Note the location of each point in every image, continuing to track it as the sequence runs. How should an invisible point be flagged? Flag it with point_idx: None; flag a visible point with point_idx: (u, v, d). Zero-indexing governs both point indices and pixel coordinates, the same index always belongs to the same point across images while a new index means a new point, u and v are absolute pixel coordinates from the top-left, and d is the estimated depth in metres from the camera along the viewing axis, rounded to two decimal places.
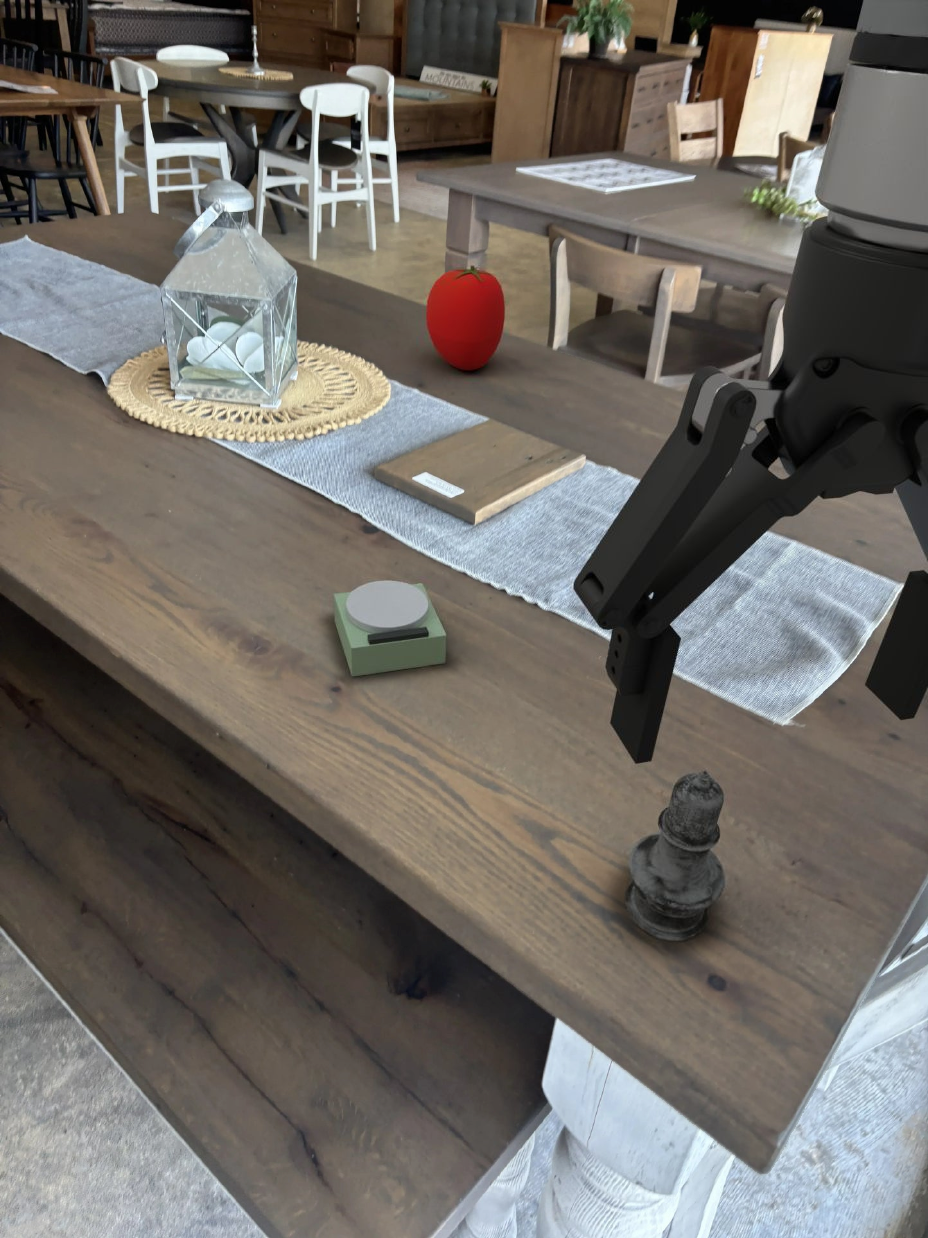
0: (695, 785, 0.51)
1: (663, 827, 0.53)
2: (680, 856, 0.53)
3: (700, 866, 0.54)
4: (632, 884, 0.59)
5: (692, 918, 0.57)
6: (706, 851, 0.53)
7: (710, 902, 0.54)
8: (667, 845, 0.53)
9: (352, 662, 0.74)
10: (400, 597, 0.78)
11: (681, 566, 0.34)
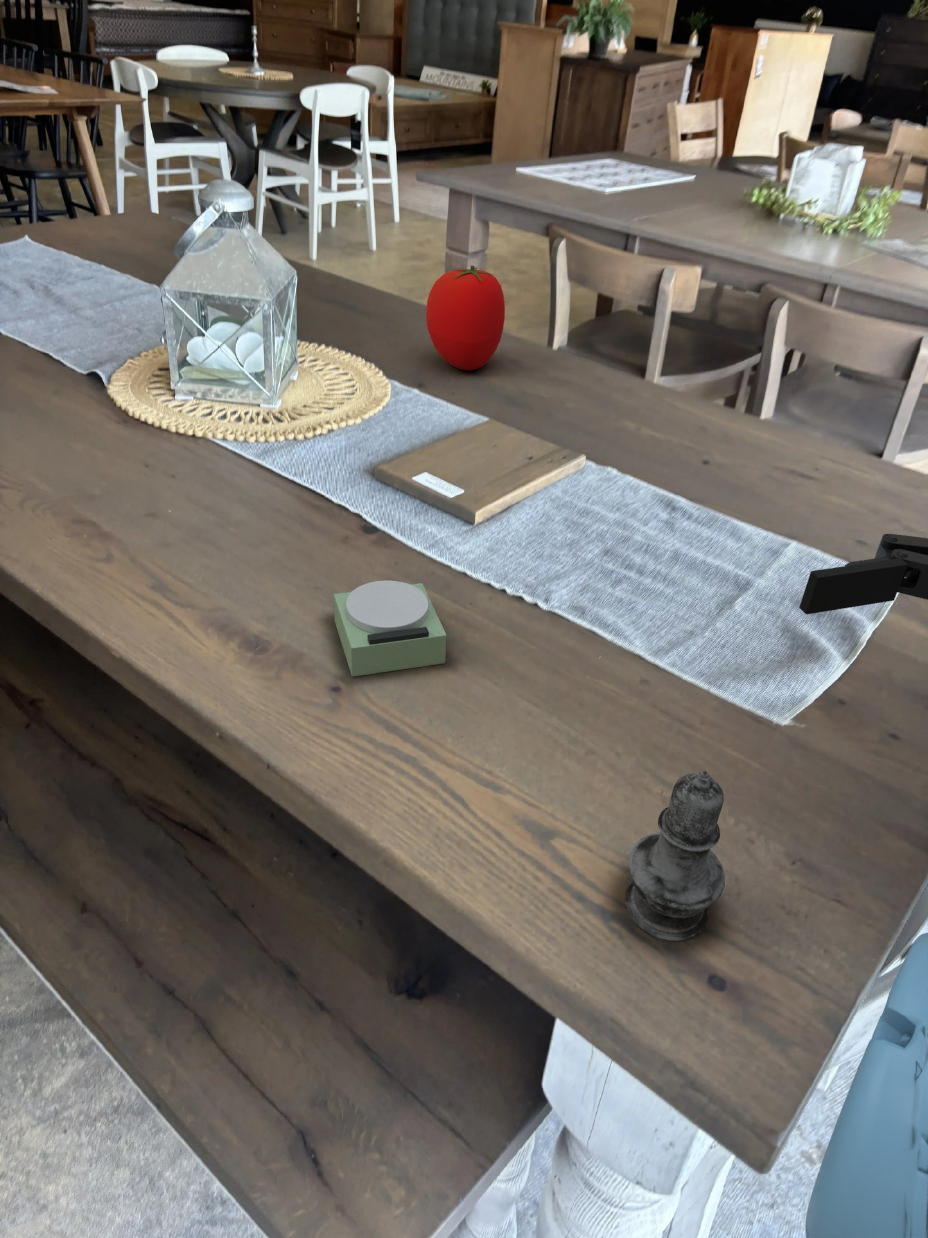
0: (695, 785, 0.51)
1: (663, 827, 0.53)
2: (680, 856, 0.53)
3: (700, 866, 0.54)
4: (632, 884, 0.59)
5: (692, 918, 0.57)
6: (706, 851, 0.53)
7: (710, 902, 0.54)
8: (667, 845, 0.53)
9: (352, 662, 0.74)
10: (400, 597, 0.78)
11: None
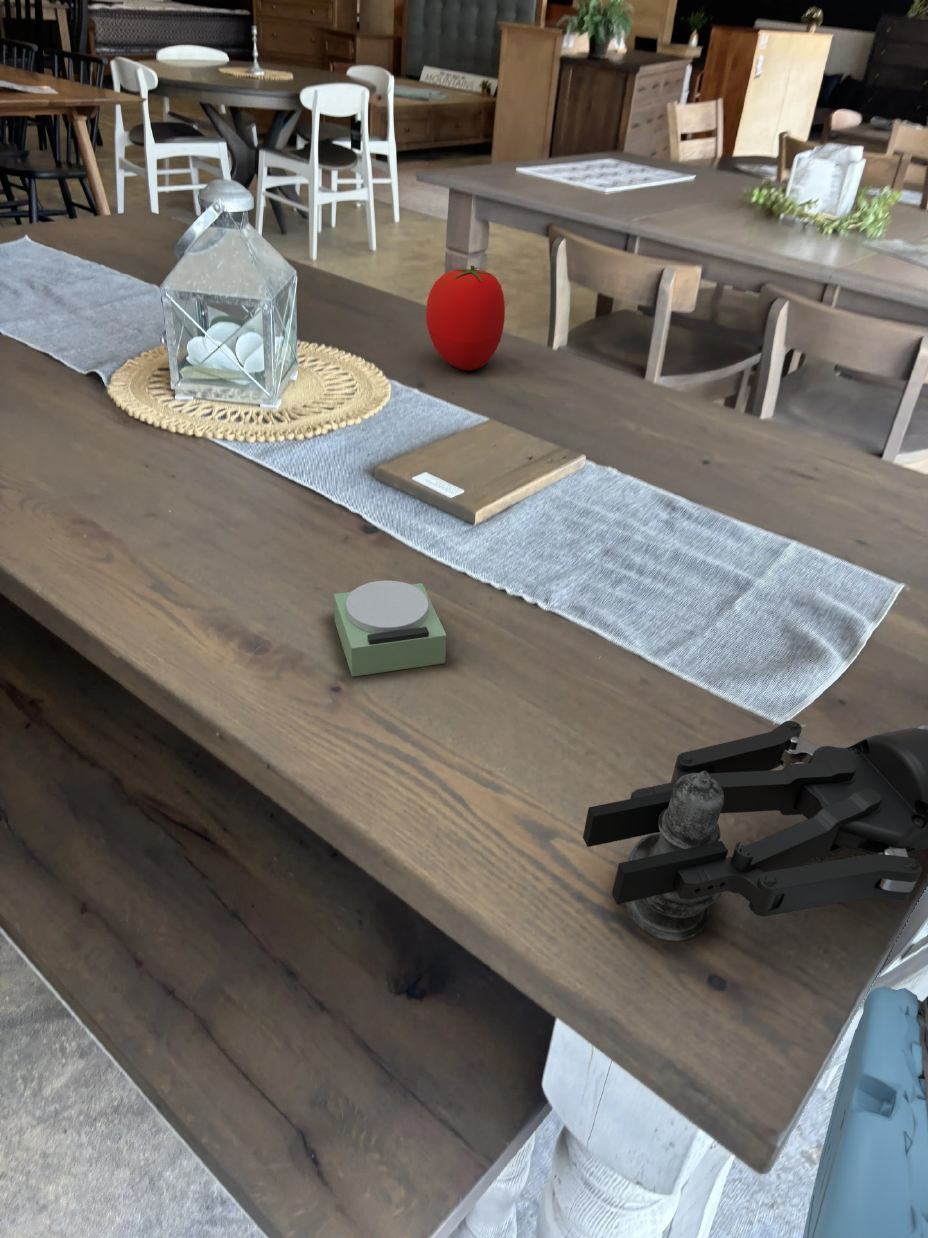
0: (695, 785, 0.51)
1: (663, 827, 0.53)
2: None
3: None
4: None
5: (692, 918, 0.57)
6: None
7: (710, 902, 0.54)
8: (667, 845, 0.53)
9: (352, 662, 0.74)
10: (400, 597, 0.78)
11: None
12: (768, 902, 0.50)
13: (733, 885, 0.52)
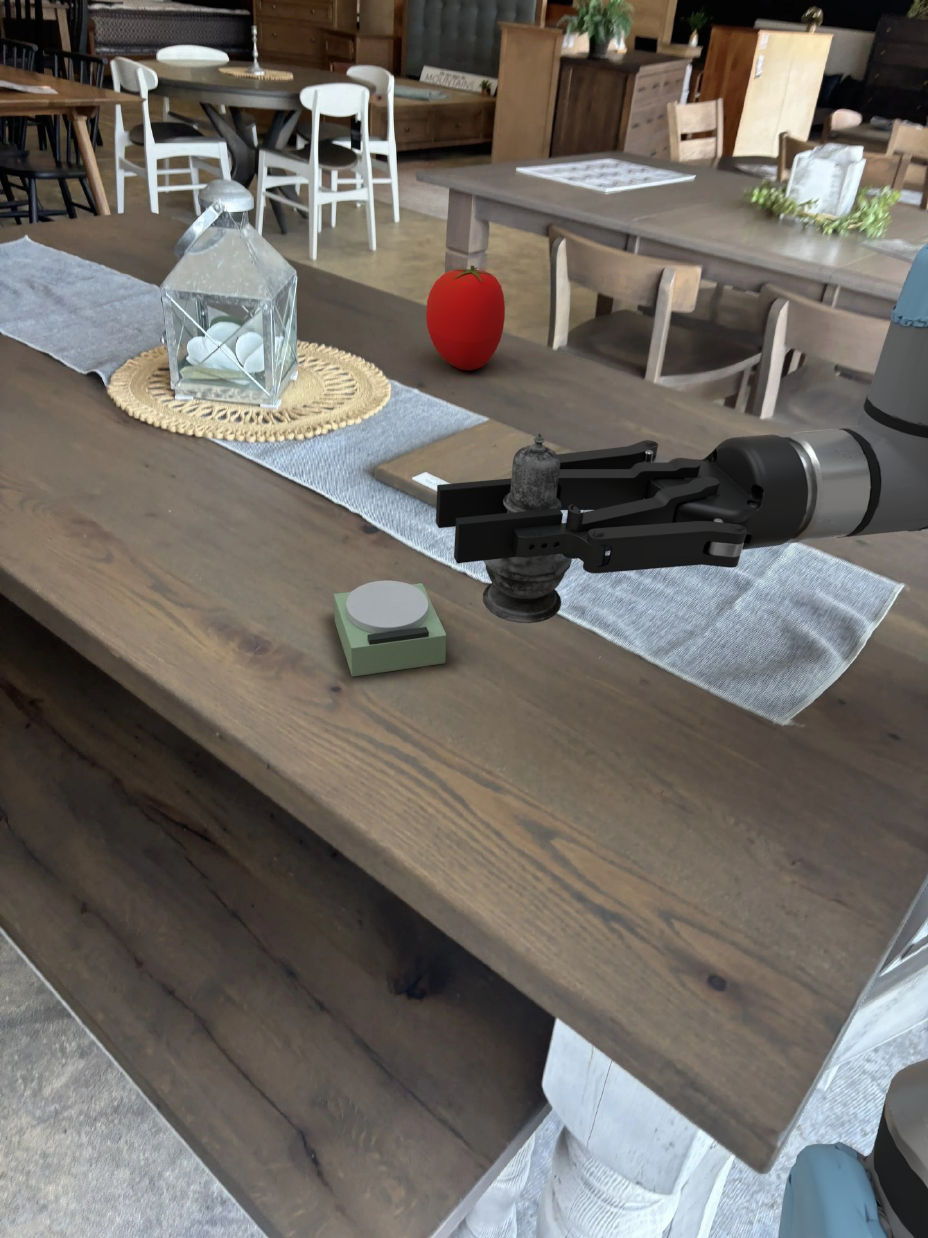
0: (531, 449, 0.54)
1: (506, 500, 0.56)
2: None
3: None
4: (491, 584, 0.62)
5: (543, 605, 0.59)
6: None
7: (553, 575, 0.57)
8: None
9: (352, 662, 0.74)
10: (400, 597, 0.78)
11: None
12: (597, 555, 0.53)
13: (567, 546, 0.54)
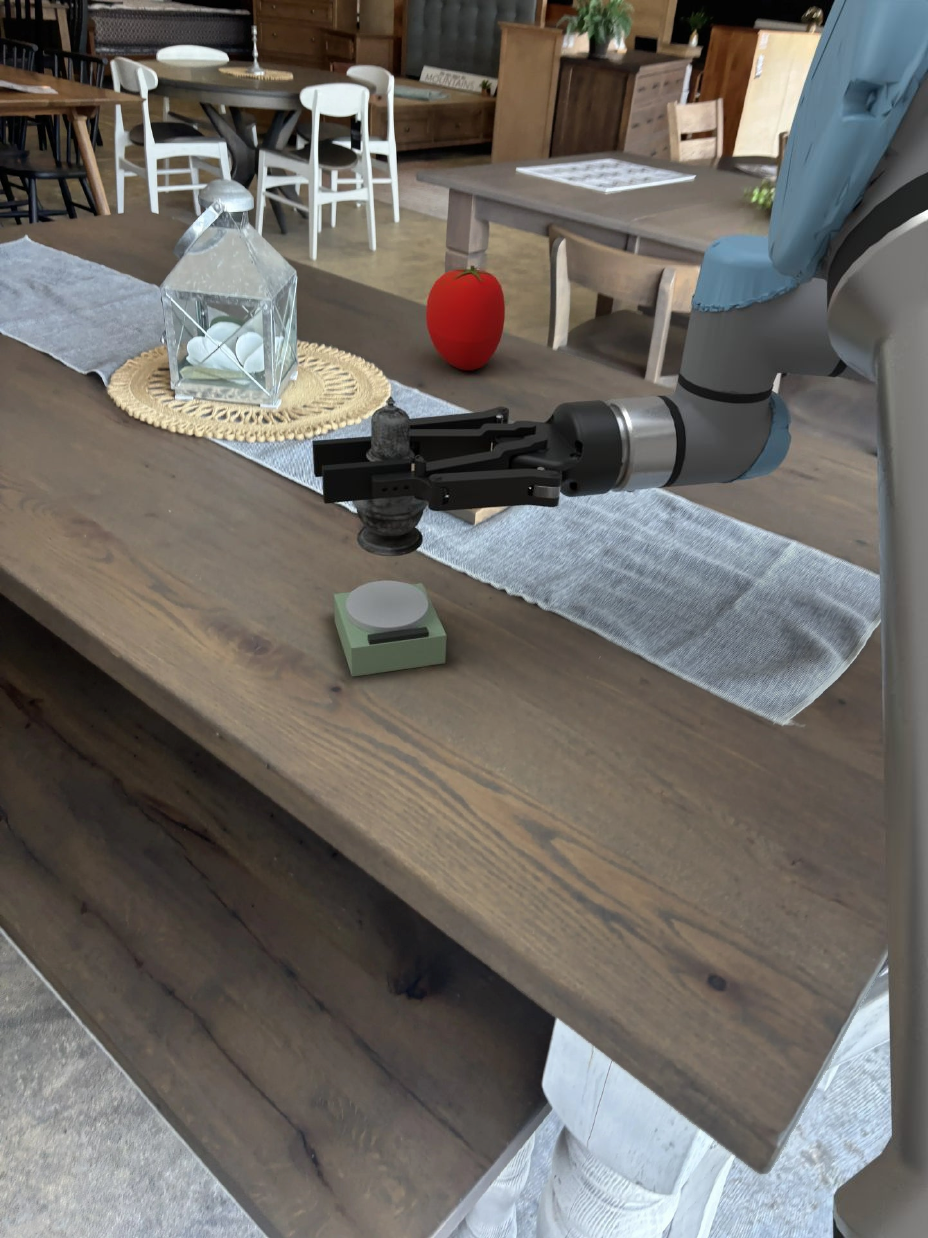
0: (384, 409, 0.66)
1: (368, 453, 0.68)
2: None
3: None
4: None
5: (405, 542, 0.71)
6: None
7: (408, 515, 0.69)
8: None
9: (352, 662, 0.74)
10: (400, 597, 0.78)
11: None
12: (437, 495, 0.65)
13: (415, 489, 0.66)
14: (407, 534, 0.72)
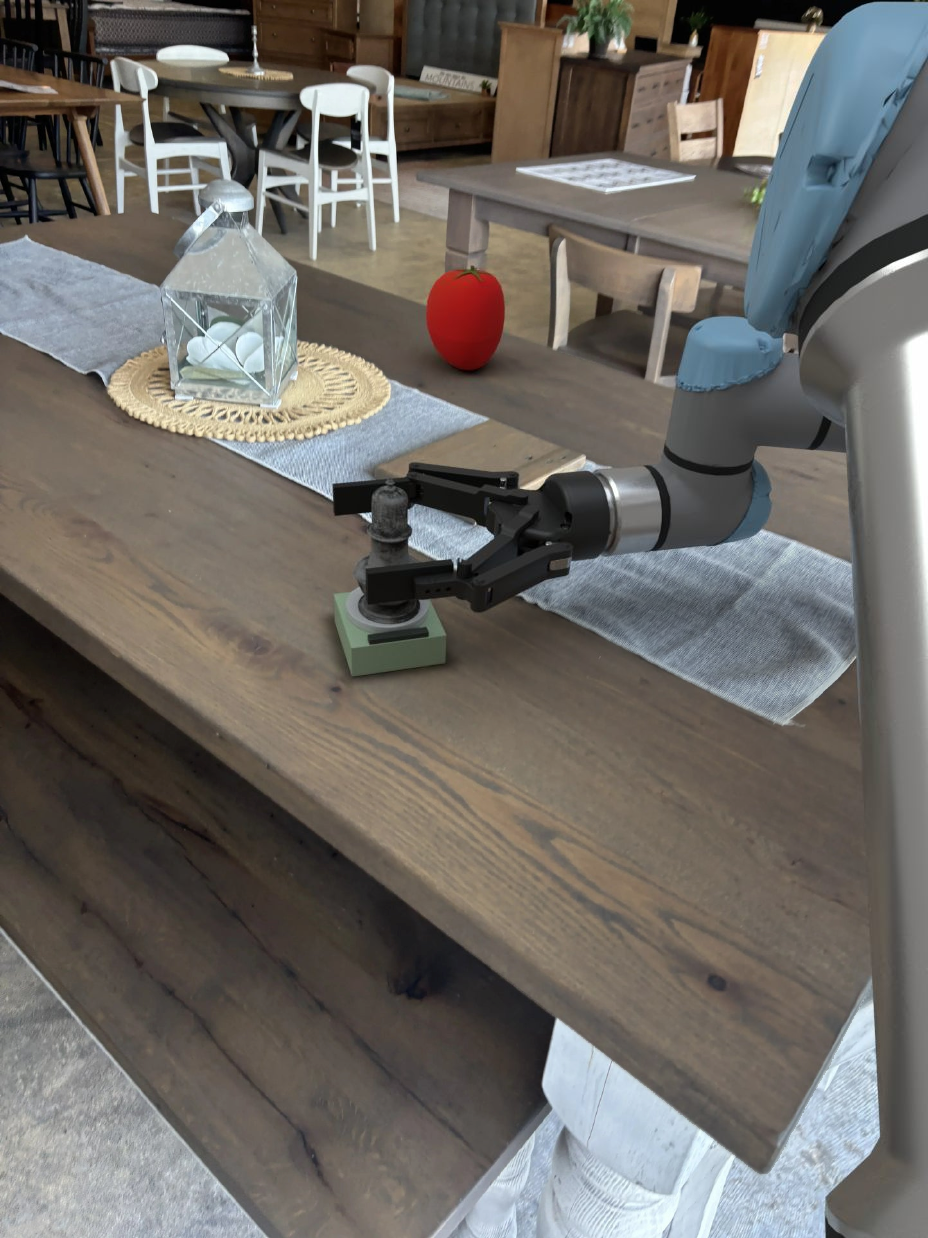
0: (384, 489, 0.70)
1: (369, 528, 0.72)
2: (381, 550, 0.72)
3: (399, 560, 0.72)
4: None
5: (404, 610, 0.75)
6: (400, 546, 0.72)
7: None
8: (372, 543, 0.72)
9: (352, 662, 0.74)
10: None
11: None
12: (483, 598, 0.66)
13: (464, 591, 0.67)
14: (405, 602, 0.76)
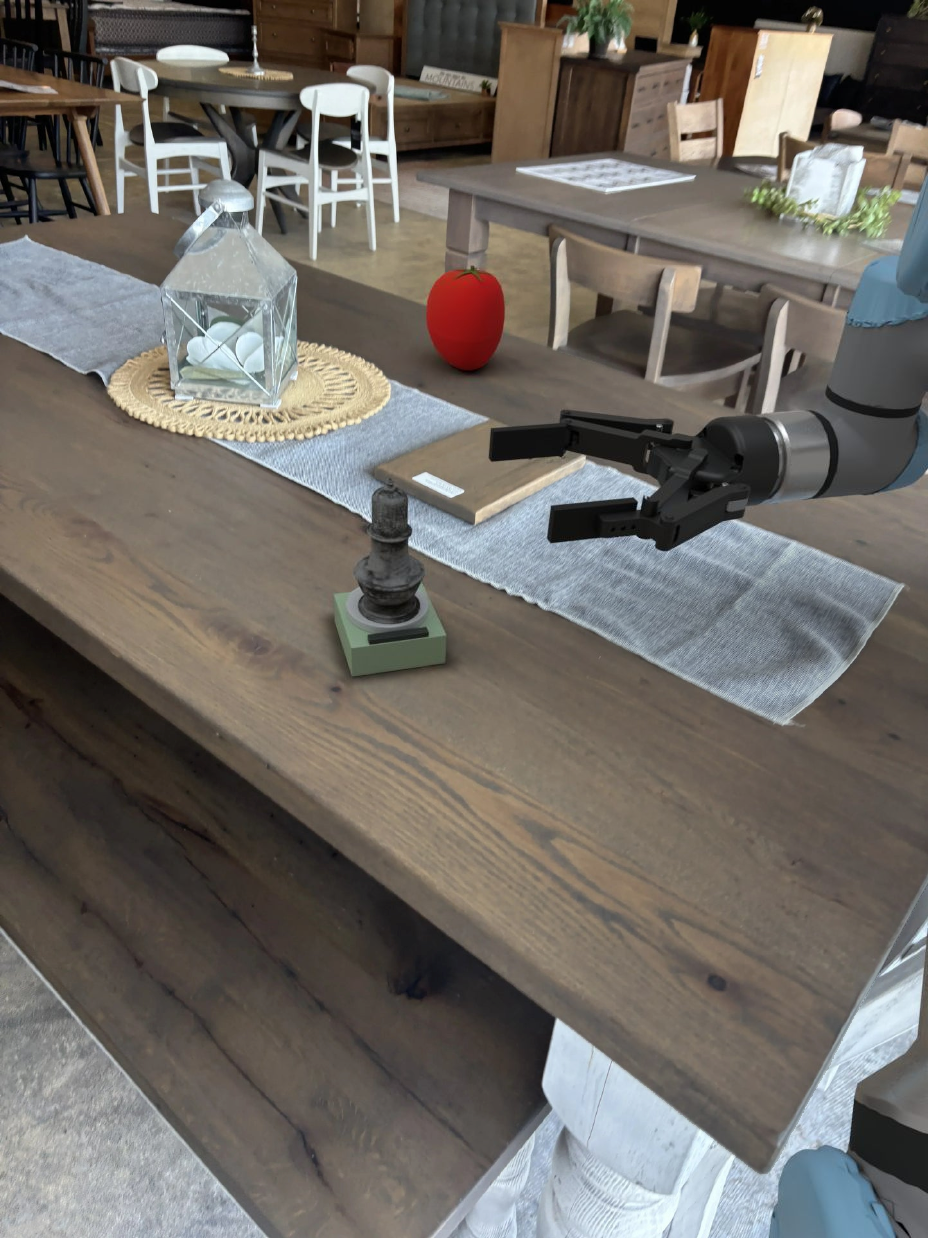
0: (384, 489, 0.70)
1: (369, 528, 0.72)
2: (381, 550, 0.72)
3: (399, 560, 0.72)
4: None
5: (404, 610, 0.75)
6: (400, 546, 0.72)
7: (406, 587, 0.73)
8: (372, 543, 0.72)
9: (352, 662, 0.74)
10: None
11: None
12: (671, 535, 0.64)
13: (648, 529, 0.65)
14: (405, 602, 0.76)
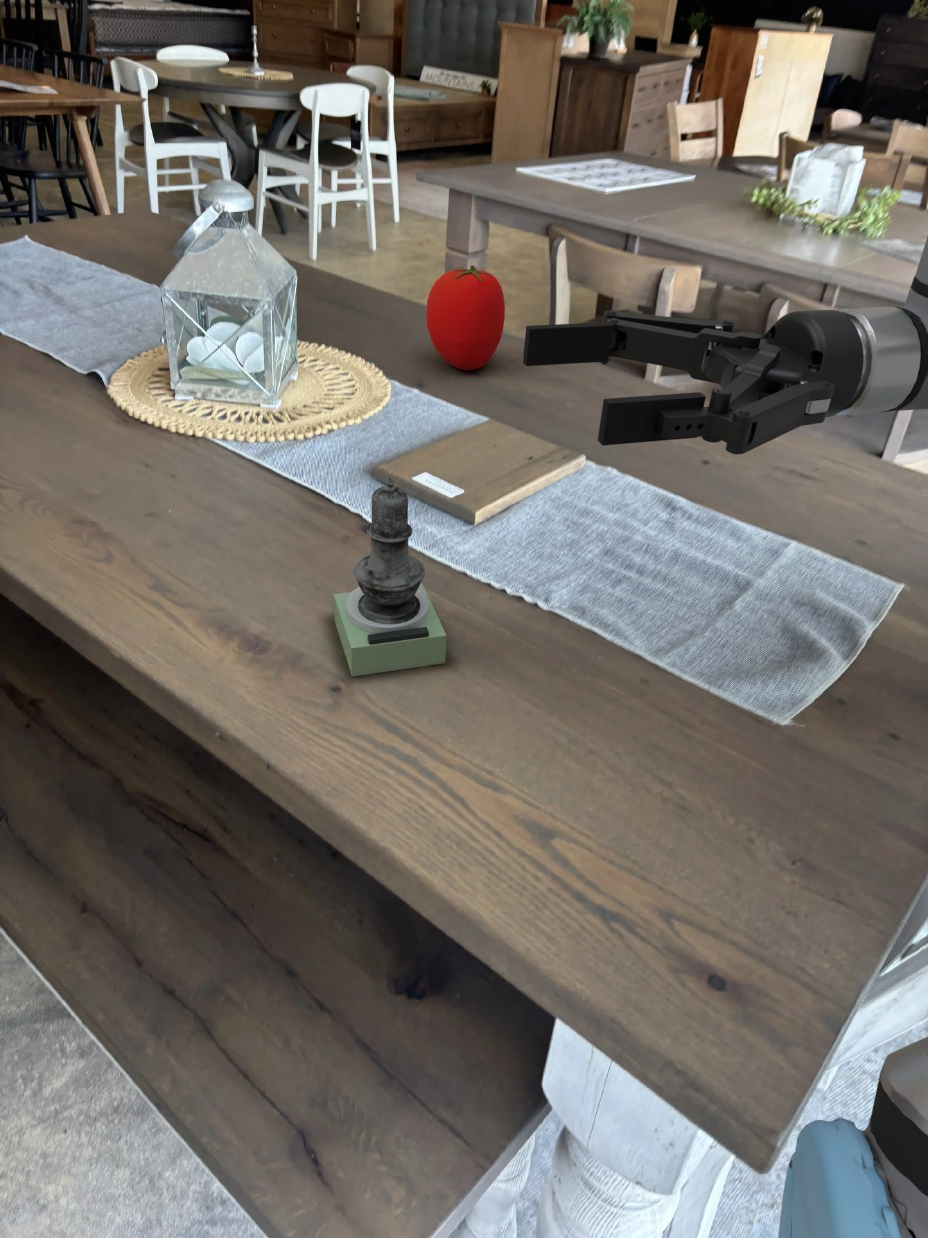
0: (384, 489, 0.70)
1: (369, 528, 0.72)
2: (381, 550, 0.72)
3: (399, 560, 0.72)
4: None
5: (404, 610, 0.75)
6: (400, 546, 0.72)
7: (406, 587, 0.73)
8: (372, 543, 0.72)
9: (352, 662, 0.74)
10: None
11: None
12: (747, 434, 0.54)
13: (718, 429, 0.55)
14: (405, 602, 0.76)
